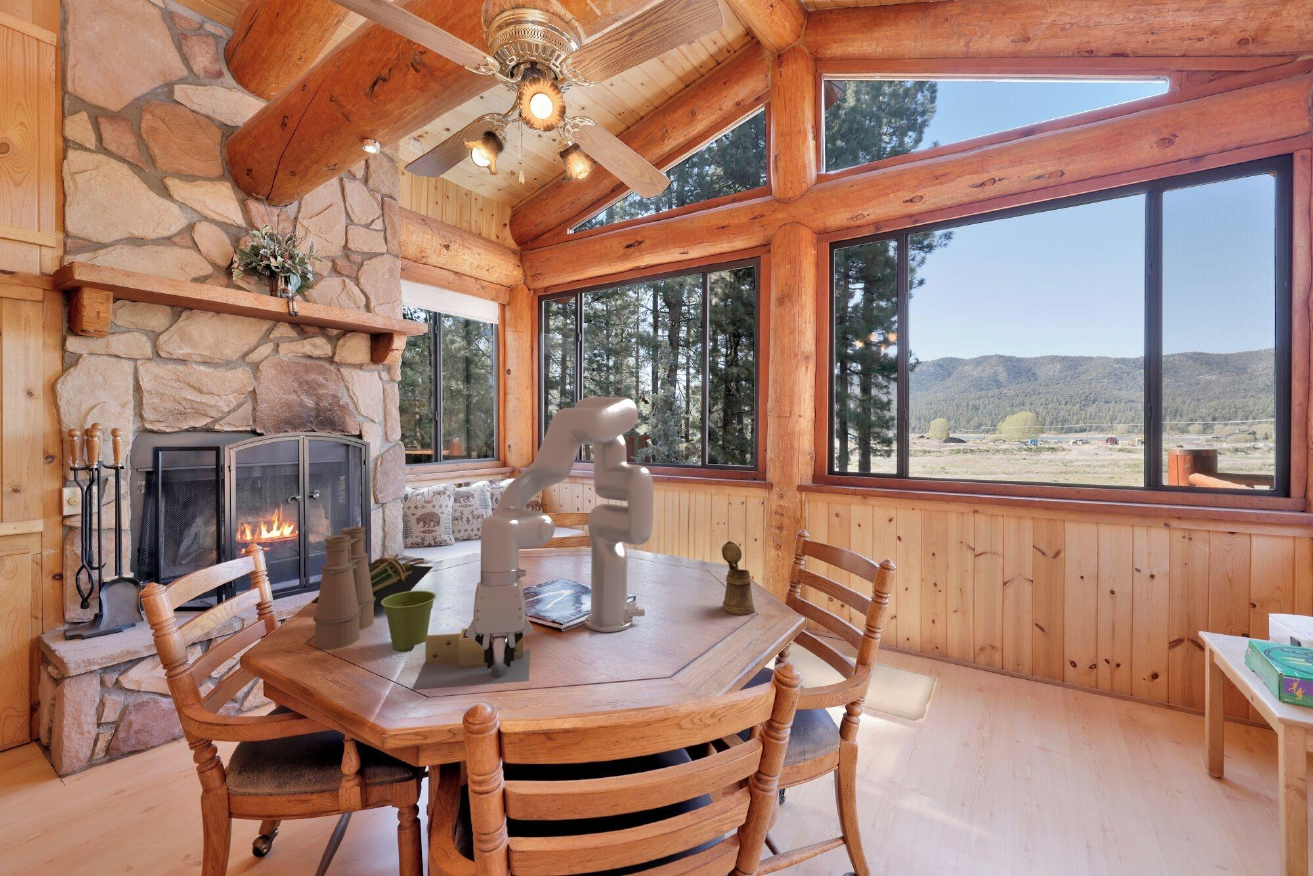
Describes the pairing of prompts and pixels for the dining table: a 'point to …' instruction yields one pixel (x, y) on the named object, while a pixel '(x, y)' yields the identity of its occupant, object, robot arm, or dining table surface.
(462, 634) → the hinge
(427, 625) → the plant pot
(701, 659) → the dining table surface
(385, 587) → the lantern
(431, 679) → the board
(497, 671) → the pin
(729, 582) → the wooden mug
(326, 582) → the binoculars
